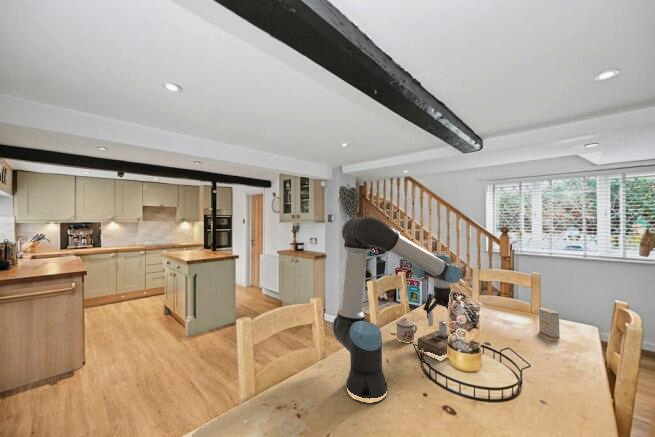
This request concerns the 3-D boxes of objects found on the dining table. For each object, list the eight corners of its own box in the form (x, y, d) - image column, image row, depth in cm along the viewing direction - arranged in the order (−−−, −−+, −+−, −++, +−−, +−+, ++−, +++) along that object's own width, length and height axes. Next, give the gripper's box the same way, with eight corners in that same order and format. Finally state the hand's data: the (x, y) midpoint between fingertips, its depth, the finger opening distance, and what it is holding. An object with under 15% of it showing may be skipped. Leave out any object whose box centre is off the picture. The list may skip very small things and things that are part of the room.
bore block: (440, 361, 117) (440, 348, 117) (417, 351, 127) (417, 338, 127) (460, 351, 125) (460, 338, 126) (437, 342, 135) (437, 330, 136)
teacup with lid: (403, 345, 133) (403, 322, 133) (392, 338, 141) (392, 316, 141) (422, 341, 137) (422, 318, 137) (411, 334, 145) (410, 313, 146)
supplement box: (560, 337, 139) (559, 312, 139) (551, 337, 139) (550, 312, 139) (547, 331, 147) (546, 307, 147) (538, 331, 147) (538, 307, 147)
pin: (444, 349, 126) (444, 324, 126) (437, 346, 128) (437, 321, 129) (448, 347, 128) (448, 322, 128) (441, 344, 130) (441, 320, 131)
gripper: (472, 290, 120) (473, 337, 120) (424, 280, 141) (425, 320, 141) (462, 293, 116) (464, 341, 116) (415, 282, 137) (416, 323, 136)
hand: (443, 330), depth 128 cm, fingers open, 13 cm apart
